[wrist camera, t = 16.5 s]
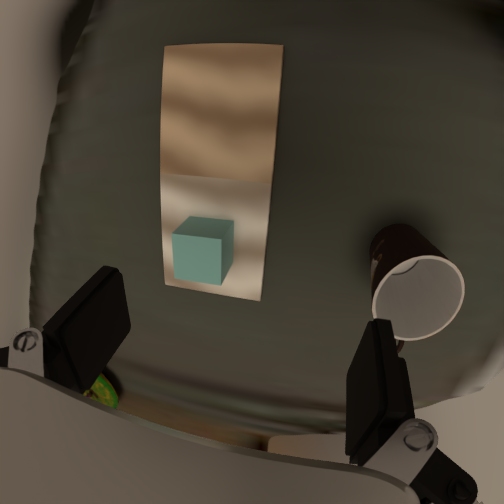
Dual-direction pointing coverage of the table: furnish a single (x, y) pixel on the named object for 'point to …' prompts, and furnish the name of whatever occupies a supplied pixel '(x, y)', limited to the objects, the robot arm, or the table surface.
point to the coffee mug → (413, 284)
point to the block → (203, 250)
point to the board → (220, 151)
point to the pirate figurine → (103, 392)
